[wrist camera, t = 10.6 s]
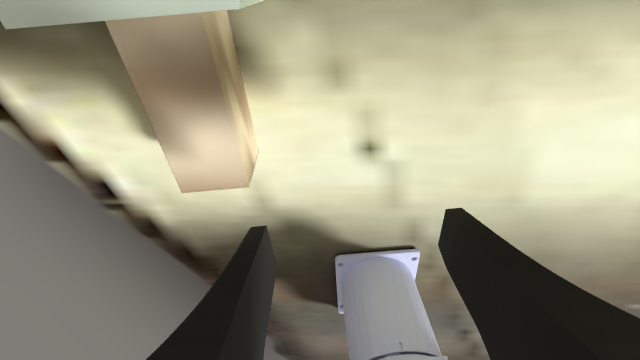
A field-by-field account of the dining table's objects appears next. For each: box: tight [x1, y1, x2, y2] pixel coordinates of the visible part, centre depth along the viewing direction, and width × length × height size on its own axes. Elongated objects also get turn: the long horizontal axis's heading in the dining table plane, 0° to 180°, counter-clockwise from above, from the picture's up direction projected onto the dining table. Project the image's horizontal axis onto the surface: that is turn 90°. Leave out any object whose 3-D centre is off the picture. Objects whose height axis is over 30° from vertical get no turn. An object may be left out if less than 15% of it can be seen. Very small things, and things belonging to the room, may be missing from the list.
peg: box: [105, 10, 259, 193], centre depth 15 cm, size 12×4×5 cm, turn 4°
